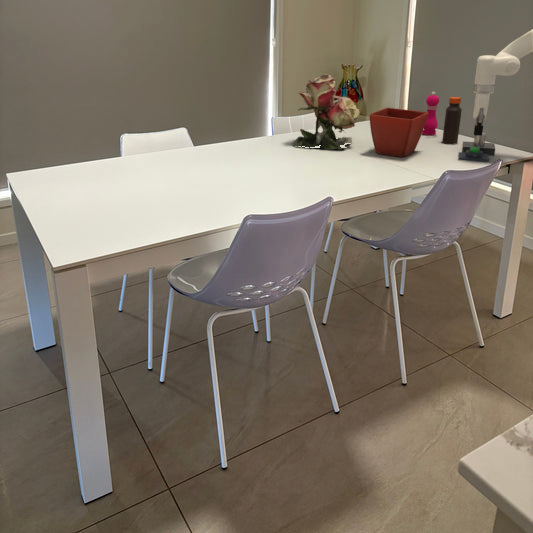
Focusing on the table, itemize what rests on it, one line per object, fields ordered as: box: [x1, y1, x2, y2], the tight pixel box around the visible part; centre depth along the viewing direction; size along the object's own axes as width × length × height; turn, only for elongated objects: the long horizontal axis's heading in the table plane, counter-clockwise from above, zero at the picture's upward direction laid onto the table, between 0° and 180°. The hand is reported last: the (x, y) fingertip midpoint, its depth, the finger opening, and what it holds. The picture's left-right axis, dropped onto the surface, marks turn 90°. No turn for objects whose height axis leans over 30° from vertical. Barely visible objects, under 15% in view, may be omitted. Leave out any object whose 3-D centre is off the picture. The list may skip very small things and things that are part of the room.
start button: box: [470, 147, 479, 153], centre depth 243 cm, size 4×4×2 cm
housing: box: [457, 150, 490, 163], centre depth 244 cm, size 12×9×3 cm
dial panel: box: [461, 141, 496, 156], centre depth 254 cm, size 13×10×3 cm
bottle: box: [441, 96, 463, 145], centre depth 265 cm, size 7×7×20 cm
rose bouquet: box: [292, 73, 361, 150], centre depth 264 cm, size 26×29×30 cm
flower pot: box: [369, 107, 428, 158], centre depth 250 cm, size 19×19×17 cm
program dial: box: [473, 131, 487, 146], centre depth 252 cm, size 4×4×5 cm
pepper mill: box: [421, 91, 440, 137], centre depth 281 cm, size 7×7×20 cm
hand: (477, 134), depth 240 cm, fingers closed
